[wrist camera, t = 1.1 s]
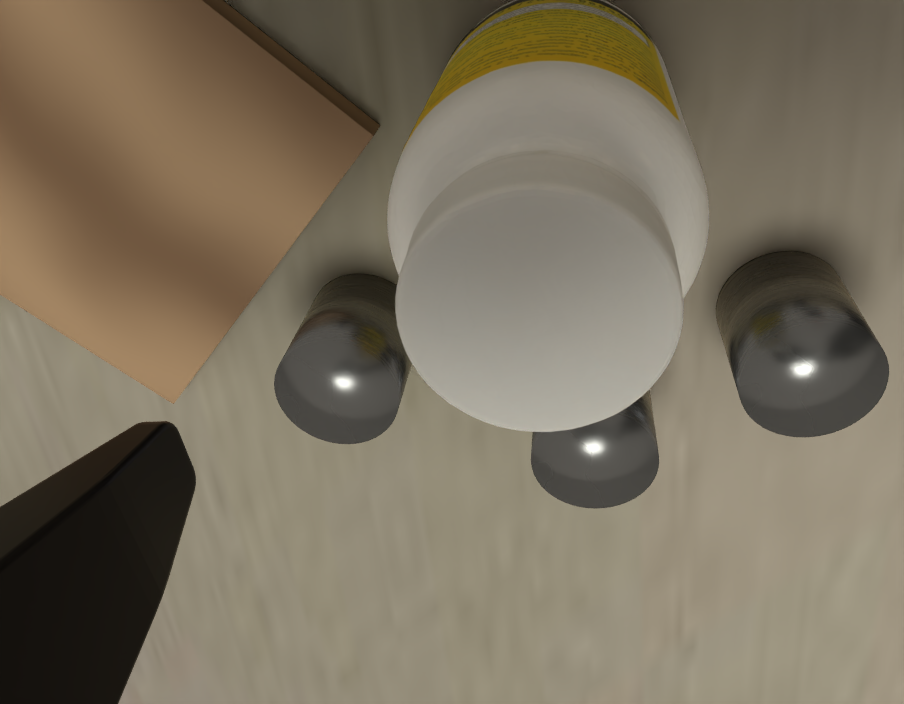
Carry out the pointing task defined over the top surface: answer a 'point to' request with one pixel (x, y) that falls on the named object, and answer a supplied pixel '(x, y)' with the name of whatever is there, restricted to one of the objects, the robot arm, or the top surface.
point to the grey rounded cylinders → (631, 430)
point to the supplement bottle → (547, 219)
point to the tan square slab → (156, 172)
